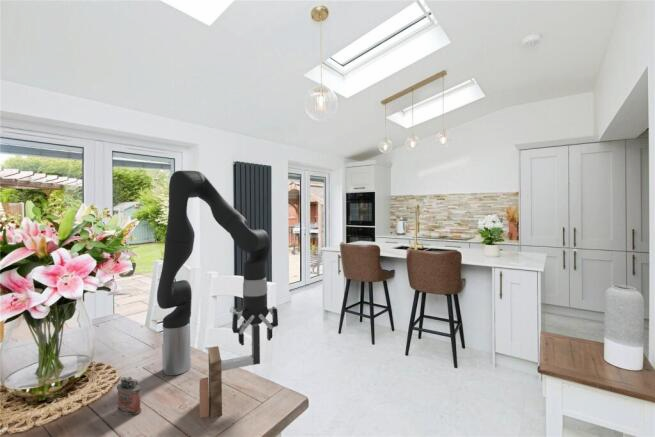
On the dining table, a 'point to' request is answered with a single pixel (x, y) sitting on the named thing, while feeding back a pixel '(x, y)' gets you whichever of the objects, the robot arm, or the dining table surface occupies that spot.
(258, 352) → the l-shaped bracket
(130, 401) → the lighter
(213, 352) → the block
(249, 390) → the dining table surface
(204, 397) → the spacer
